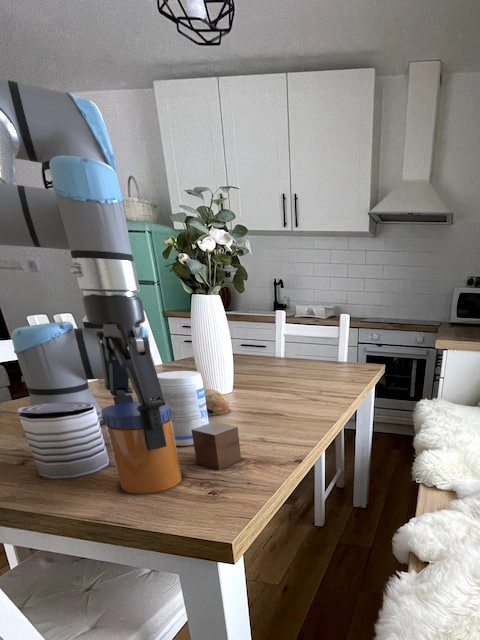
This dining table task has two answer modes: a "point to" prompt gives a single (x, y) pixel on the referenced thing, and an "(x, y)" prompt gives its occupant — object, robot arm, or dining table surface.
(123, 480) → the jar
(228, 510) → the dining table surface
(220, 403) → the bread roll
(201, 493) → the dining table surface
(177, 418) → the supplement tub
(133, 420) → the lid
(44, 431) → the can
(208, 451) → the cube
